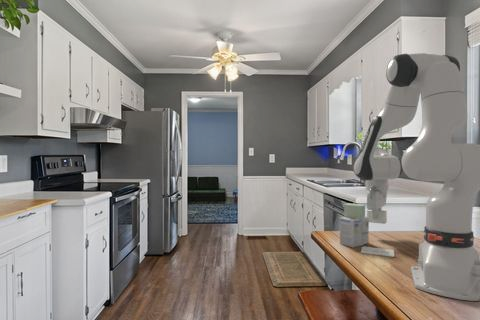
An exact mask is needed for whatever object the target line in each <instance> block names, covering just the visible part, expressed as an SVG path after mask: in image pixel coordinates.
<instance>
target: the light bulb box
mask: <svg viewBox="0 0 480 320" xmlns="http://www.w3.org/2000/svg"><path fill="white" fill-rule="evenodd" d="M369 224H370V222H369V217H367V215H365V218H363V219H358V218H350V217H344V216H343V217H339V244H340V245H343V246H346V247H349V248H352V249H353V248H356V247H359V246H363V245H365V244H369V237H370V235H369V229H370V228H369V227H370V226H369Z"/></svg>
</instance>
